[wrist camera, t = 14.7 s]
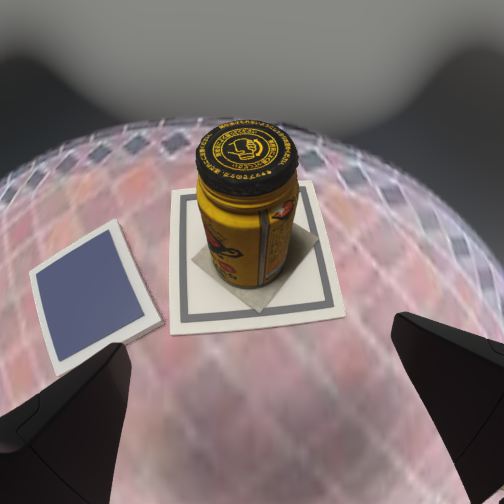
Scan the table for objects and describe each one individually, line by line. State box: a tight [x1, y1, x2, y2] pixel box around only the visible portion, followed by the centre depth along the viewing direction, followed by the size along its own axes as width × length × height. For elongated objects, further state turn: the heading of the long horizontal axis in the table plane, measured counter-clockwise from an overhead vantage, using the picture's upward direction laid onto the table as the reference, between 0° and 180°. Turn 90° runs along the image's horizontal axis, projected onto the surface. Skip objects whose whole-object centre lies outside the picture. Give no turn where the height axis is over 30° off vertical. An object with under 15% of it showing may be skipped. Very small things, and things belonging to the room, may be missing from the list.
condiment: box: [191, 120, 319, 313], centre depth 19 cm, size 7×8×12 cm
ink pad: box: [29, 218, 165, 377], centre depth 22 cm, size 11×11×2 cm
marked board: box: [169, 180, 346, 336], centre depth 25 cm, size 14×14×1 cm
